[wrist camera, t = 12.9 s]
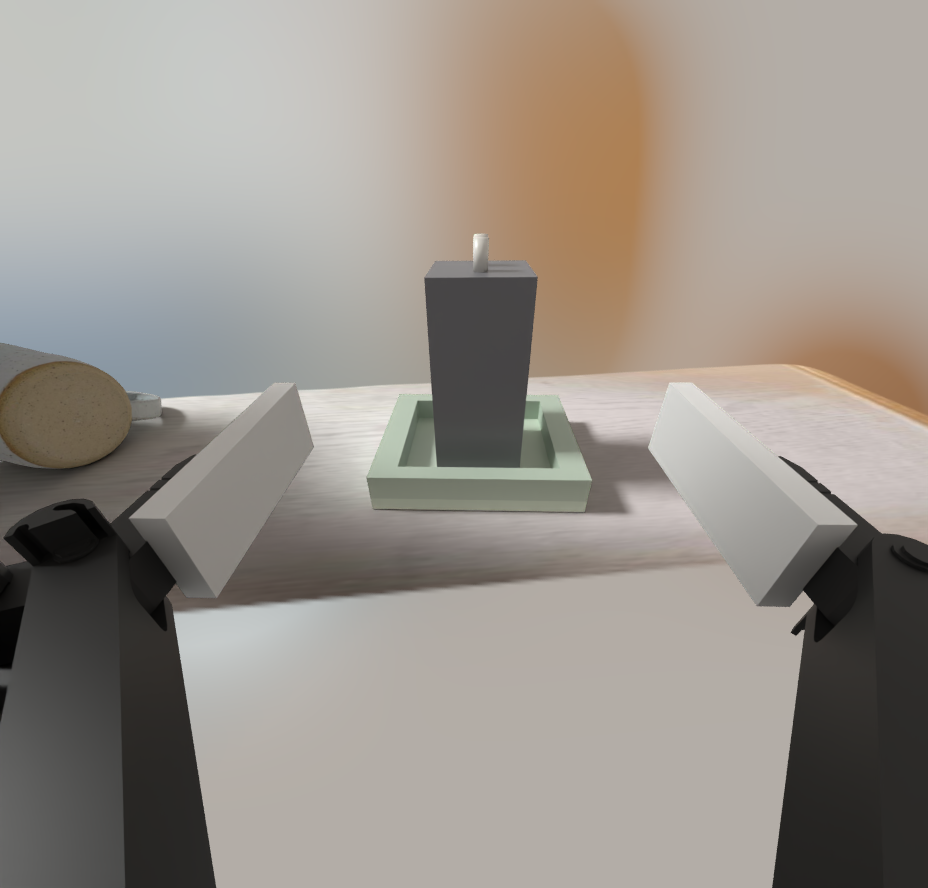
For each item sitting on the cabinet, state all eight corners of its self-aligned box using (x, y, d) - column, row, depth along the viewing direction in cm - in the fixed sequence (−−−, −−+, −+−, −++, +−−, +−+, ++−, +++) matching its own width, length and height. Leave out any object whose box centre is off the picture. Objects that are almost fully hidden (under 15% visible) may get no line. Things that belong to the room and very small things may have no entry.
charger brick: (437, 472, 22) (422, 241, 16) (443, 429, 27) (434, 232, 20) (519, 473, 22) (540, 240, 15) (512, 429, 26) (527, 231, 20)
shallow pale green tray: (372, 508, 21) (366, 477, 20) (402, 420, 29) (399, 394, 28) (584, 512, 21) (592, 480, 19) (554, 421, 29) (558, 395, 28)
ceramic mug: (50, 496, 22) (-47, 378, 18) (-43, 477, 24) (-152, 364, 20) (196, 415, 31) (153, 321, 27) (120, 404, 33) (69, 315, 28)
